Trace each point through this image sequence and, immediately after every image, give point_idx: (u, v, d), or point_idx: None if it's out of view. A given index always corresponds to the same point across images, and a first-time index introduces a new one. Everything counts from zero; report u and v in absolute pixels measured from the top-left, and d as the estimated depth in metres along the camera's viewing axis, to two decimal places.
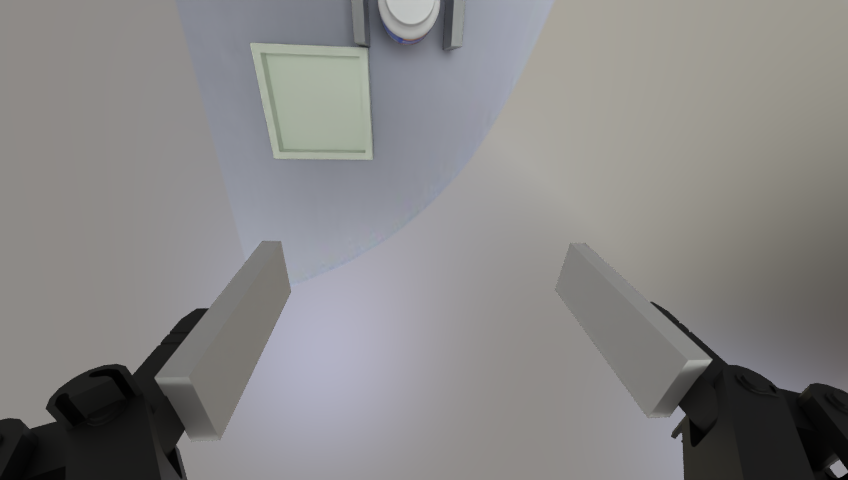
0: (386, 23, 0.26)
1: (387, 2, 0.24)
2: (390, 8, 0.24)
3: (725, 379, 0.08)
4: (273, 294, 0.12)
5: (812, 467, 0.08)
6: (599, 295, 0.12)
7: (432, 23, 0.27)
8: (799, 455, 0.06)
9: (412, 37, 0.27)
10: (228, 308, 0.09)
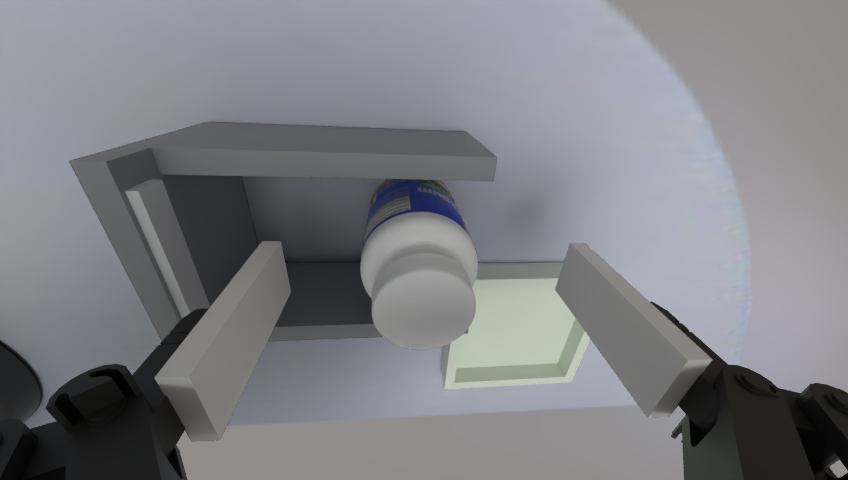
0: None
1: (438, 346, 0.12)
2: (447, 343, 0.12)
3: (725, 379, 0.08)
4: (273, 294, 0.12)
5: (812, 467, 0.08)
6: (599, 295, 0.12)
7: (458, 234, 0.13)
8: (799, 455, 0.06)
9: (477, 267, 0.14)
10: (228, 308, 0.09)
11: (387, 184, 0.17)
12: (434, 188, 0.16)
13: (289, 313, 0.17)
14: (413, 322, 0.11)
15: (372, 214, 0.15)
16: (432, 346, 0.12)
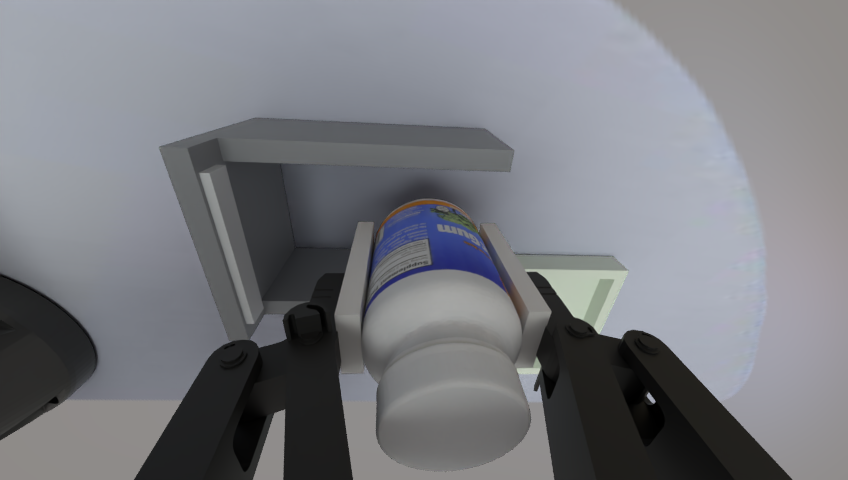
0: None
1: (470, 466, 0.09)
2: (484, 463, 0.08)
3: (559, 332, 0.09)
4: None
5: (636, 402, 0.09)
6: None
7: (499, 304, 0.09)
8: (613, 383, 0.08)
9: (521, 342, 0.10)
10: (361, 270, 0.11)
11: (397, 215, 0.14)
12: (458, 224, 0.13)
13: None
14: (437, 443, 0.08)
15: (378, 260, 0.12)
16: (462, 467, 0.08)
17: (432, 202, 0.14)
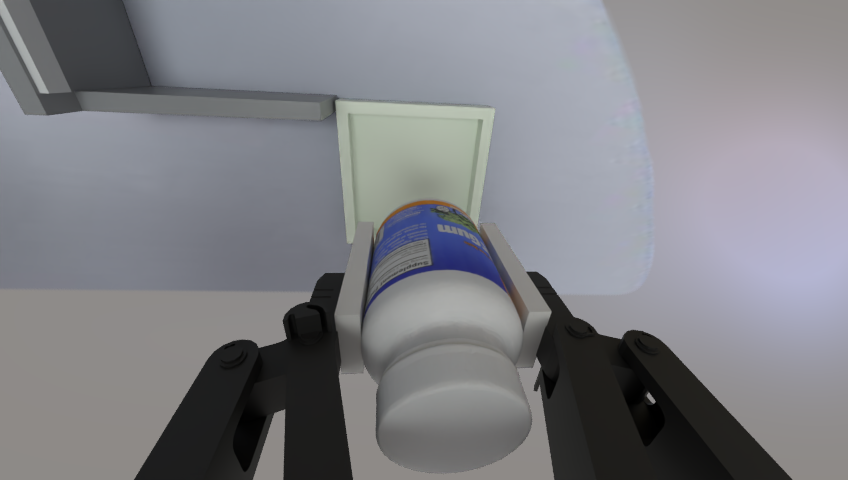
0: None
1: (470, 468, 0.09)
2: (485, 465, 0.08)
3: (559, 333, 0.09)
4: None
5: (636, 402, 0.09)
6: None
7: (500, 305, 0.09)
8: (613, 383, 0.08)
9: (522, 343, 0.10)
10: (361, 270, 0.11)
11: (397, 216, 0.14)
12: (458, 224, 0.12)
13: (148, 92, 0.18)
14: (437, 445, 0.08)
15: (378, 260, 0.12)
16: (462, 469, 0.08)
17: (432, 202, 0.14)
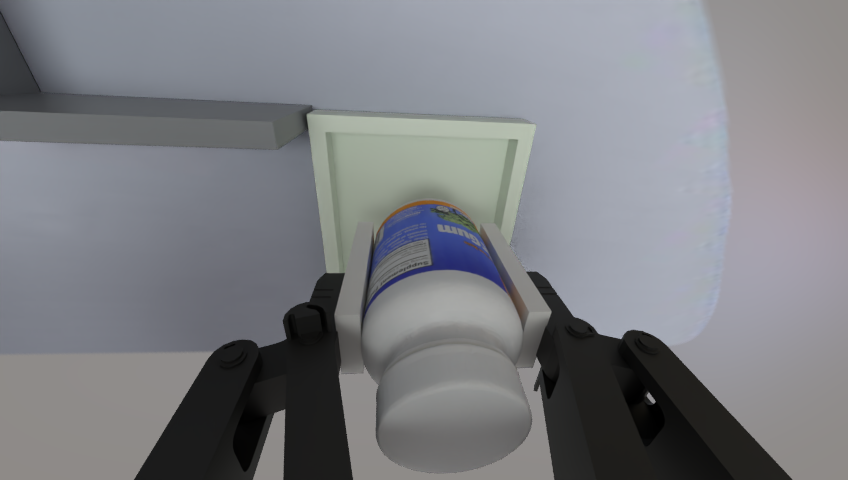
0: None
1: (470, 468, 0.09)
2: (485, 465, 0.08)
3: (559, 333, 0.09)
4: None
5: (636, 402, 0.09)
6: None
7: (500, 305, 0.09)
8: (613, 383, 0.08)
9: (522, 343, 0.10)
10: (361, 270, 0.11)
11: (397, 216, 0.14)
12: (459, 224, 0.12)
13: None
14: (437, 444, 0.08)
15: (378, 260, 0.12)
16: (462, 469, 0.08)
17: (432, 202, 0.14)
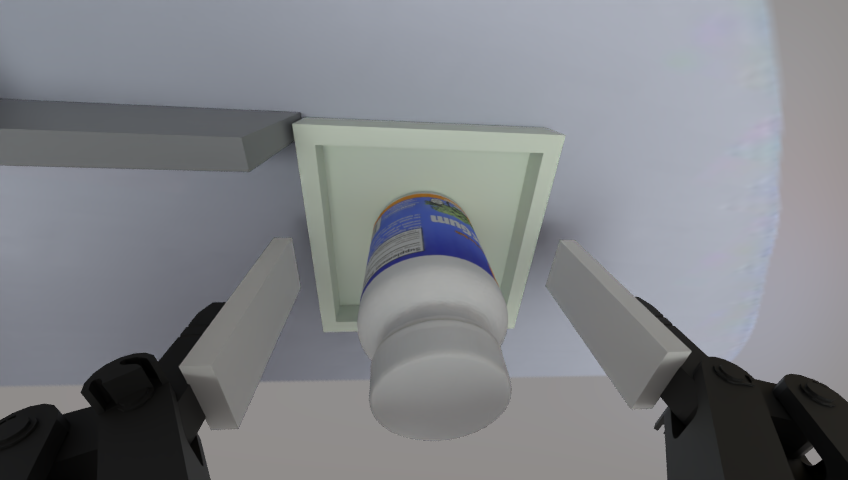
0: None
1: (457, 436, 0.09)
2: (470, 433, 0.09)
3: (704, 371, 0.08)
4: (285, 289, 0.12)
5: (788, 456, 0.08)
6: (586, 291, 0.12)
7: (486, 287, 0.10)
8: (774, 443, 0.07)
9: (507, 325, 0.11)
10: (245, 302, 0.09)
11: (393, 208, 0.14)
12: (451, 215, 0.13)
13: None
14: (425, 411, 0.08)
15: (374, 248, 0.12)
16: (449, 437, 0.09)
17: (427, 195, 0.15)
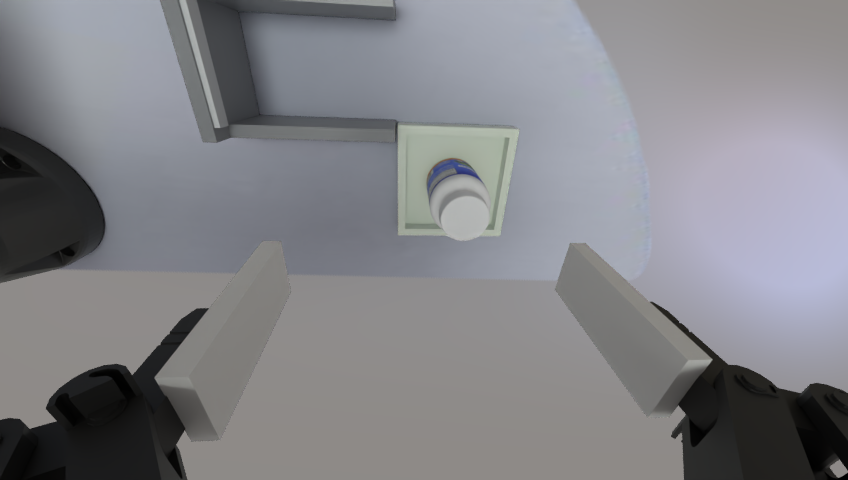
0: None
1: (470, 239, 0.25)
2: (475, 237, 0.25)
3: (725, 379, 0.08)
4: (273, 294, 0.12)
5: (812, 467, 0.08)
6: (599, 295, 0.12)
7: (481, 185, 0.25)
8: (799, 455, 0.06)
9: (490, 204, 0.26)
10: (228, 308, 0.09)
11: (439, 164, 0.30)
12: (467, 166, 0.29)
13: (273, 123, 0.25)
14: (459, 223, 0.24)
15: (433, 178, 0.28)
16: (467, 238, 0.25)
17: (454, 158, 0.30)
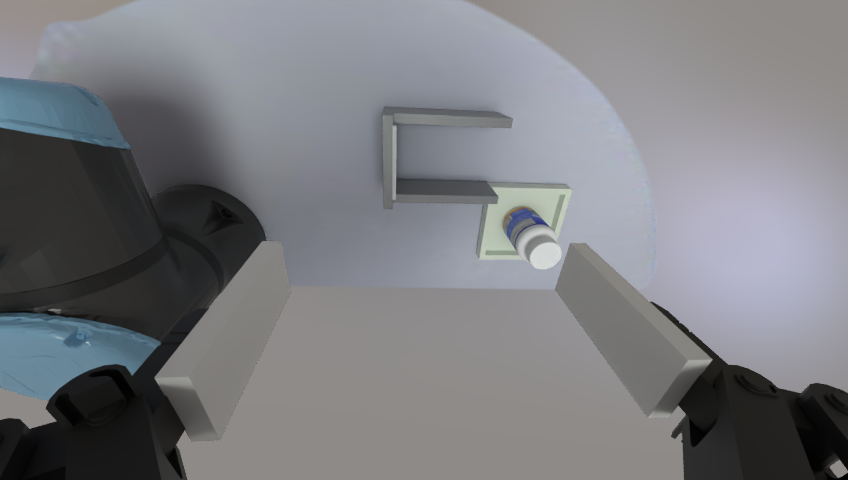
0: None
1: (546, 268, 0.38)
2: None
3: (725, 379, 0.08)
4: (273, 294, 0.12)
5: (812, 467, 0.08)
6: (599, 295, 0.12)
7: (553, 232, 0.38)
8: (799, 455, 0.06)
9: (557, 244, 0.39)
10: (228, 308, 0.09)
11: (515, 212, 0.43)
12: (536, 214, 0.42)
13: (418, 191, 0.37)
14: (541, 259, 0.37)
15: (515, 224, 0.41)
16: (545, 268, 0.38)
17: (525, 207, 0.43)
